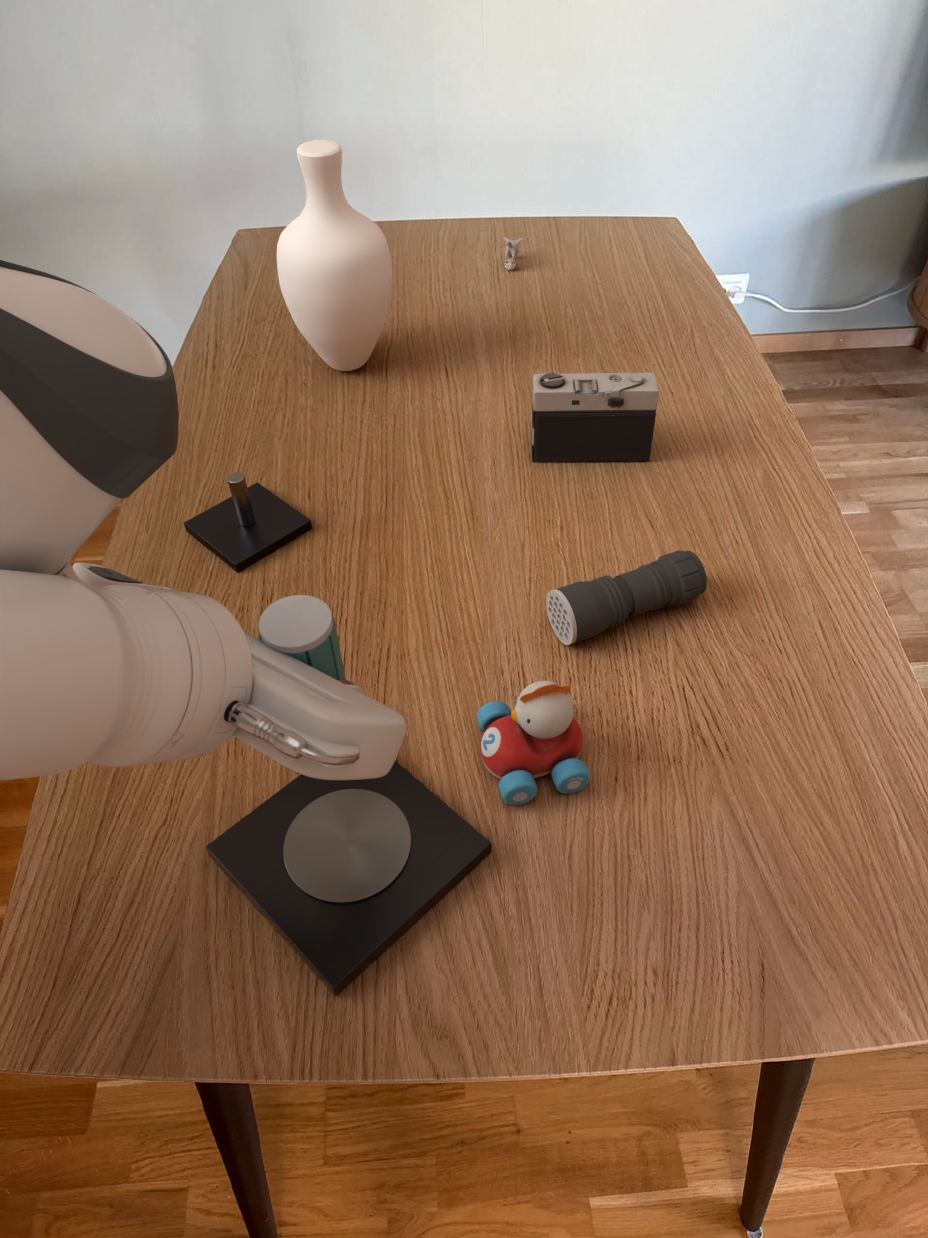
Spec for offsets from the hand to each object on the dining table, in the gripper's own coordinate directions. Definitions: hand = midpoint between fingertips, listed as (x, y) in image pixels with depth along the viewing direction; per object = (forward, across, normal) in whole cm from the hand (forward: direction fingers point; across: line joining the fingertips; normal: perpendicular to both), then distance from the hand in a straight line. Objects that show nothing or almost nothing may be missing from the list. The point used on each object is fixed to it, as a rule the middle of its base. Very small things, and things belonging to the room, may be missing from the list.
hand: (315, 676), depth 59 cm
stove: (+13, -1, +15) cm, 20 cm away
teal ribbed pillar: (+4, 0, +5) cm, 6 cm away
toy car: (+25, -8, +4) cm, 26 cm away
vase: (+55, +46, -26) cm, 77 cm away
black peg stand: (+31, +34, -3) cm, 46 cm away
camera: (+55, +10, -27) cm, 62 cm away
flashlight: (+38, -7, -10) cm, 40 cm away
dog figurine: (+81, +43, -52) cm, 106 cm away
